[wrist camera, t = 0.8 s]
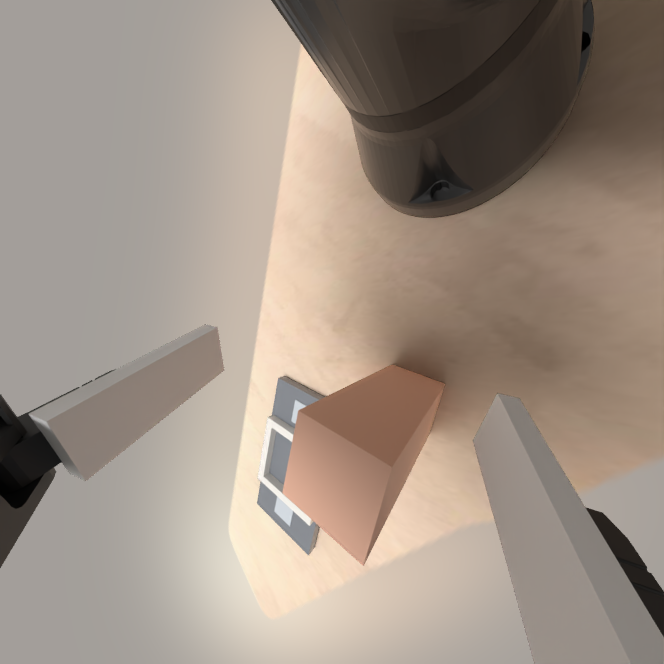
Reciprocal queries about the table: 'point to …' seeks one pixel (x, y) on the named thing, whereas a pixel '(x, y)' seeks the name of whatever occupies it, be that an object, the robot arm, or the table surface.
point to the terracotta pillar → (360, 453)
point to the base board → (285, 463)
